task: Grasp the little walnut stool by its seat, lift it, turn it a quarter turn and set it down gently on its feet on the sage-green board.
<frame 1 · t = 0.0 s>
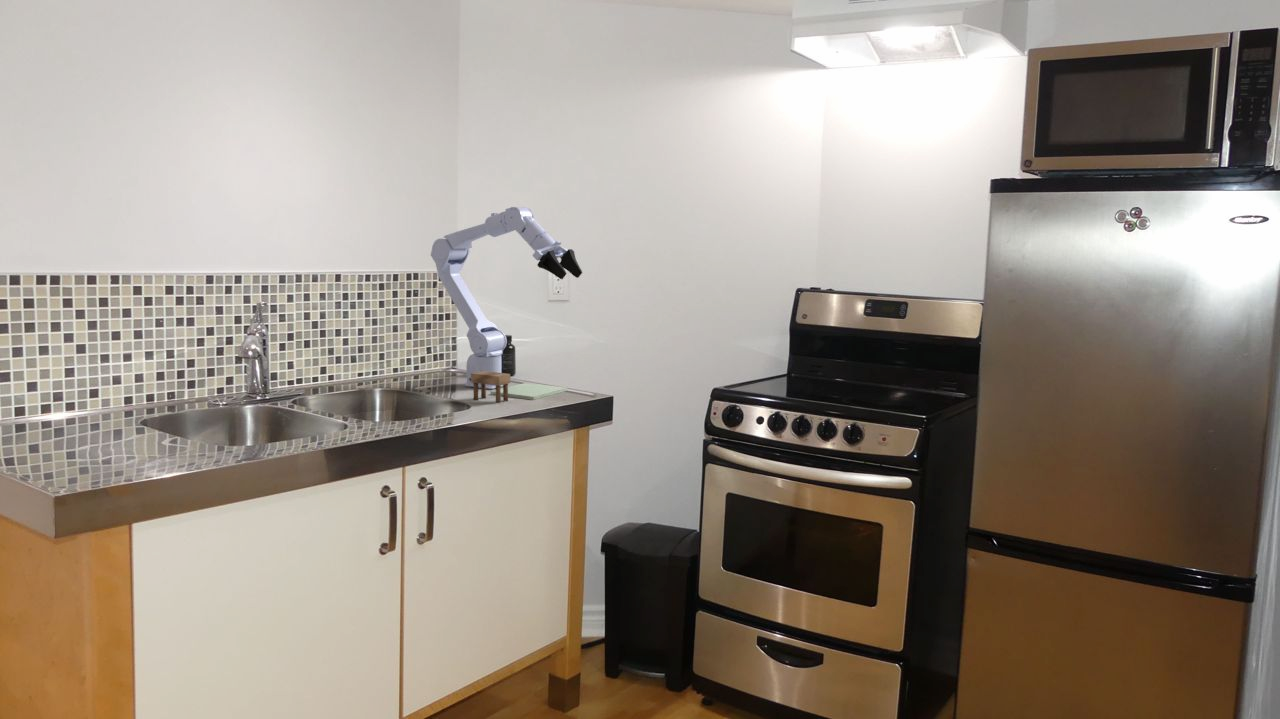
hand: (572, 275, 254), 32 cm above the worktop, tool tilted 50°, fingers open, 7 cm apart
sage board: (529, 392, 264), on the worktop
walnut stool: (490, 400, 252), on the worktop
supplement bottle: (504, 375, 291), on the worktop
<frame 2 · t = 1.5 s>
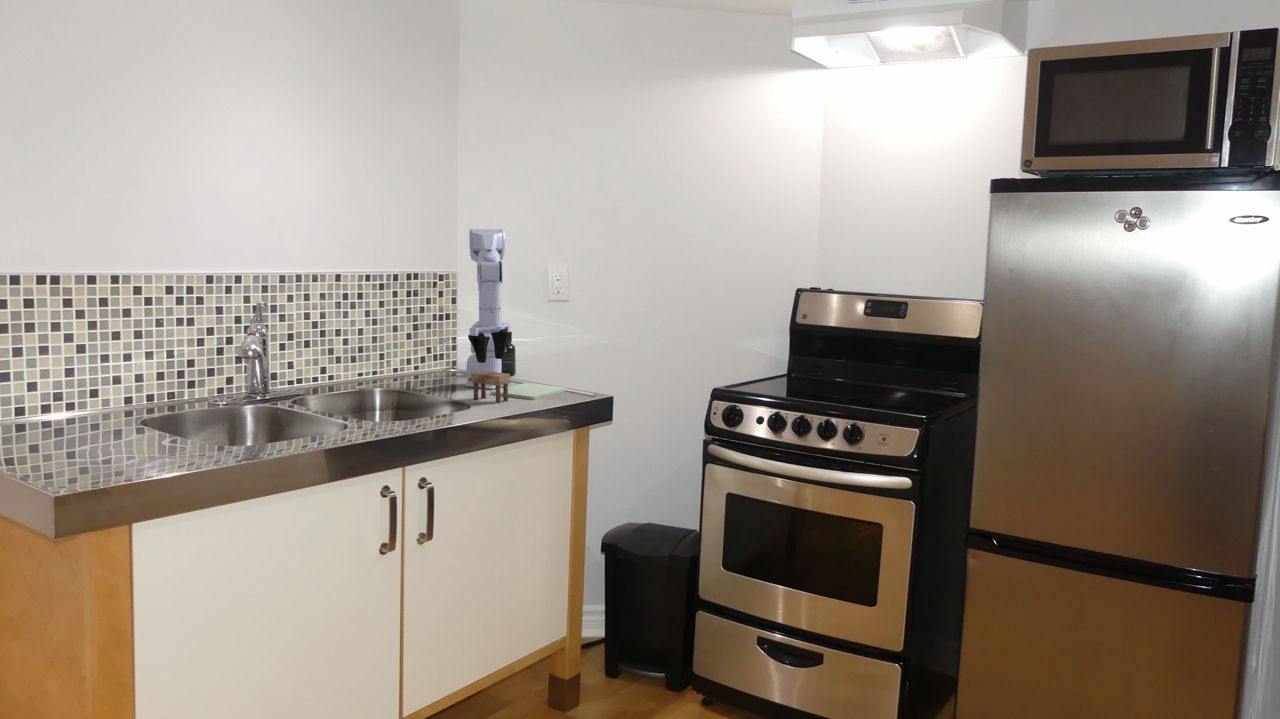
hand: (490, 360, 250), 10 cm above the worktop, tool pointing down, fingers open, 7 cm apart
nothing on the worktop moved.
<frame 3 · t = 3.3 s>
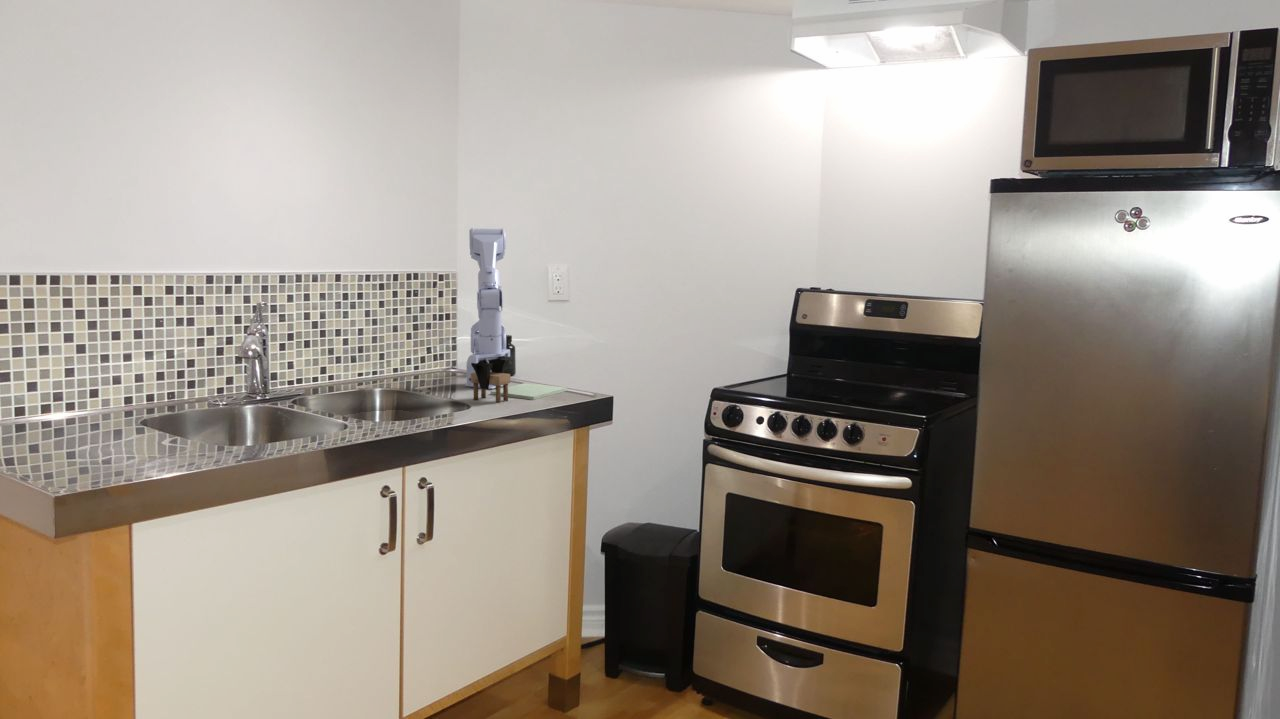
hand: (490, 387, 251), 3 cm above the worktop, tool pointing down, fingers closed on walnut stool, 5 cm apart
walnut stool: (490, 400, 252), on the worktop, touching gripper
everything else where it was.
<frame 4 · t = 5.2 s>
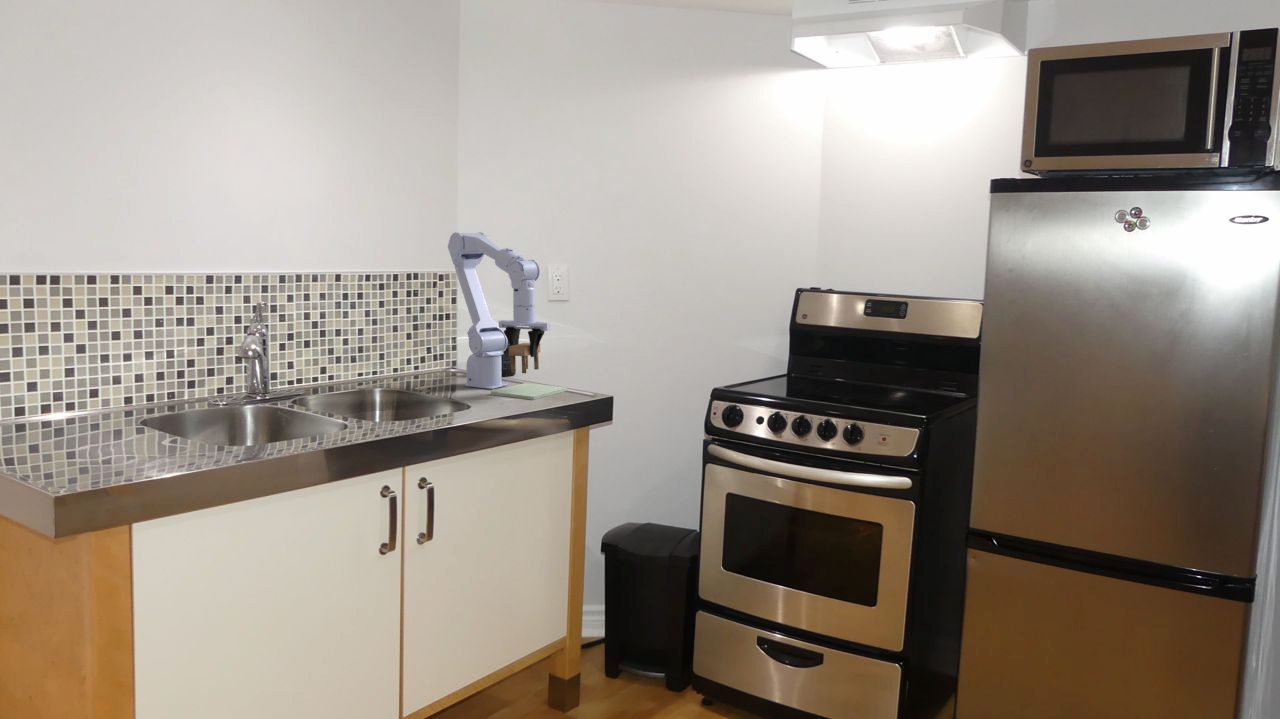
hand: (524, 355, 260), 10 cm above the worktop, tool pointing down, fingers closed on walnut stool, 5 cm apart
walnut stool: (525, 370, 261), point 6 cm above the worktop, touching gripper
everything else where it was.
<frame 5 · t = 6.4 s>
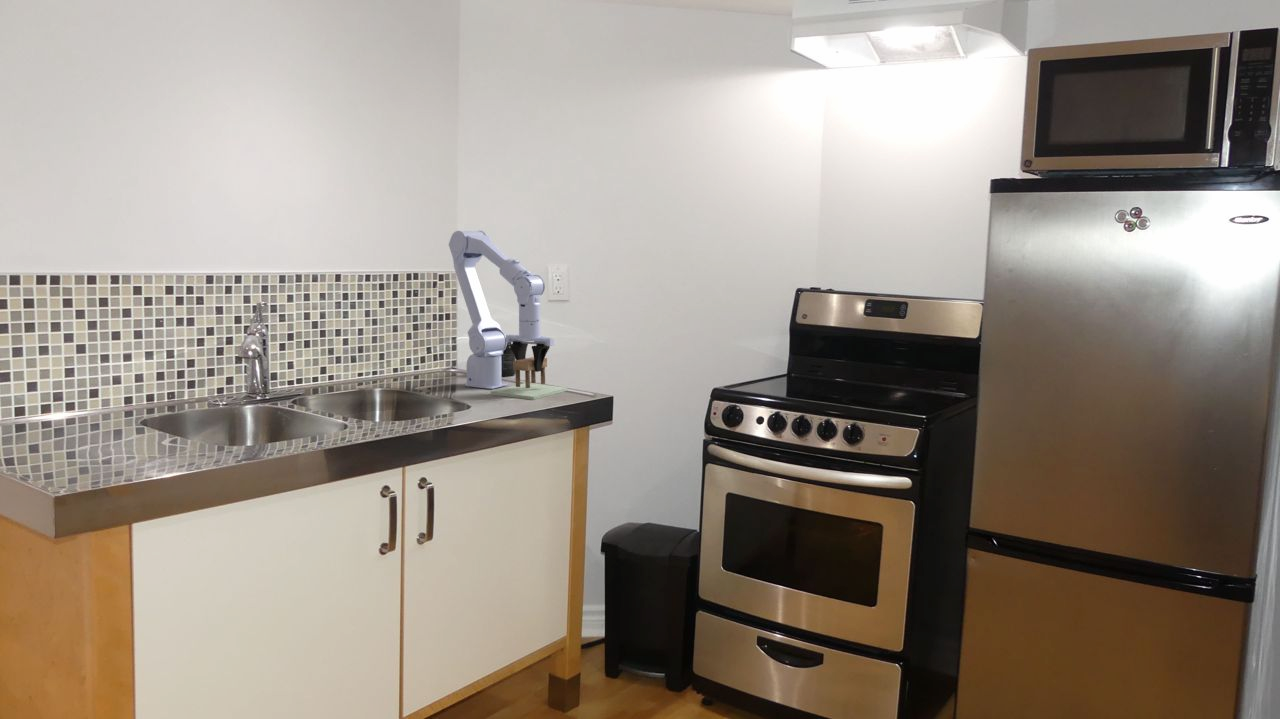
hand: (529, 370, 262), 6 cm above the worktop, tool pointing down, fingers closed on walnut stool, 5 cm apart
walnut stool: (530, 385, 263), point 2 cm above the worktop, touching gripper
everything else where it was.
when the fingers open (5 cm above the worktop, at t = 7.5 s): walnut stool stays where it is, resting on sage board.
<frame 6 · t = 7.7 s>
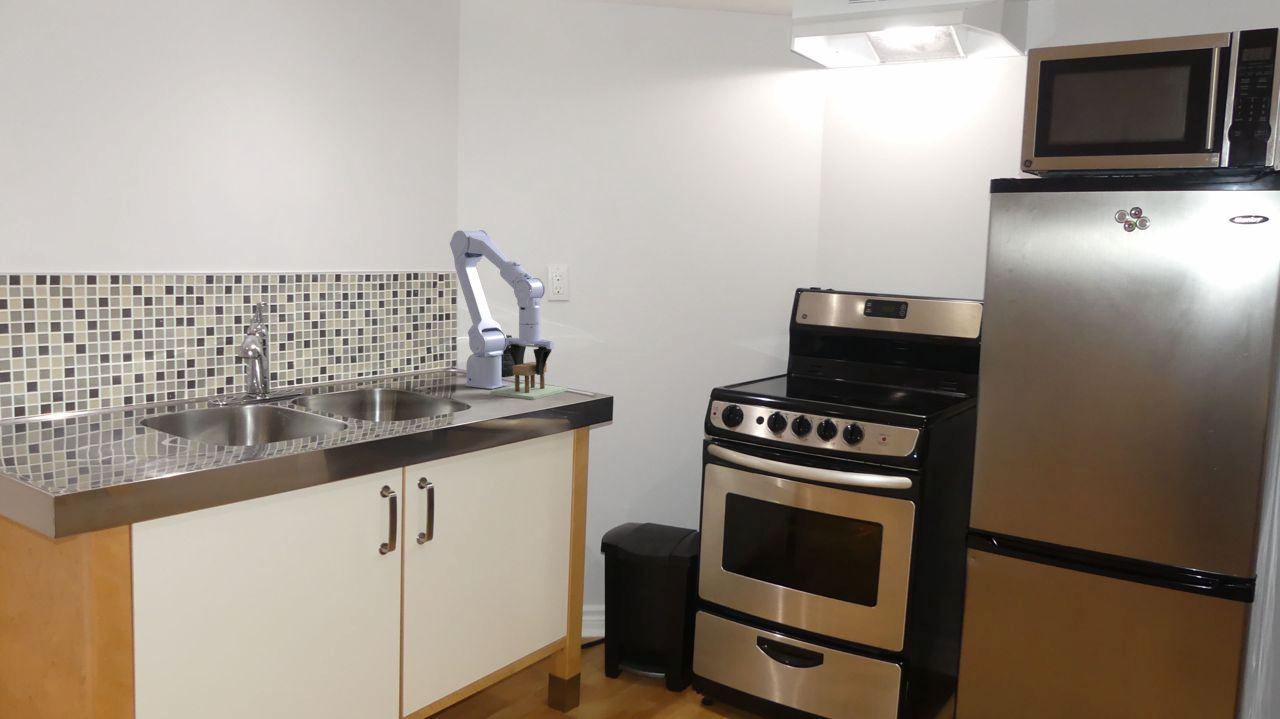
hand: (529, 373, 262), 5 cm above the worktop, tool pointing down, fingers open, 6 cm apart
walnut stool: (529, 389, 263), point 1 cm above the worktop, touching sage board
everything else where it was.
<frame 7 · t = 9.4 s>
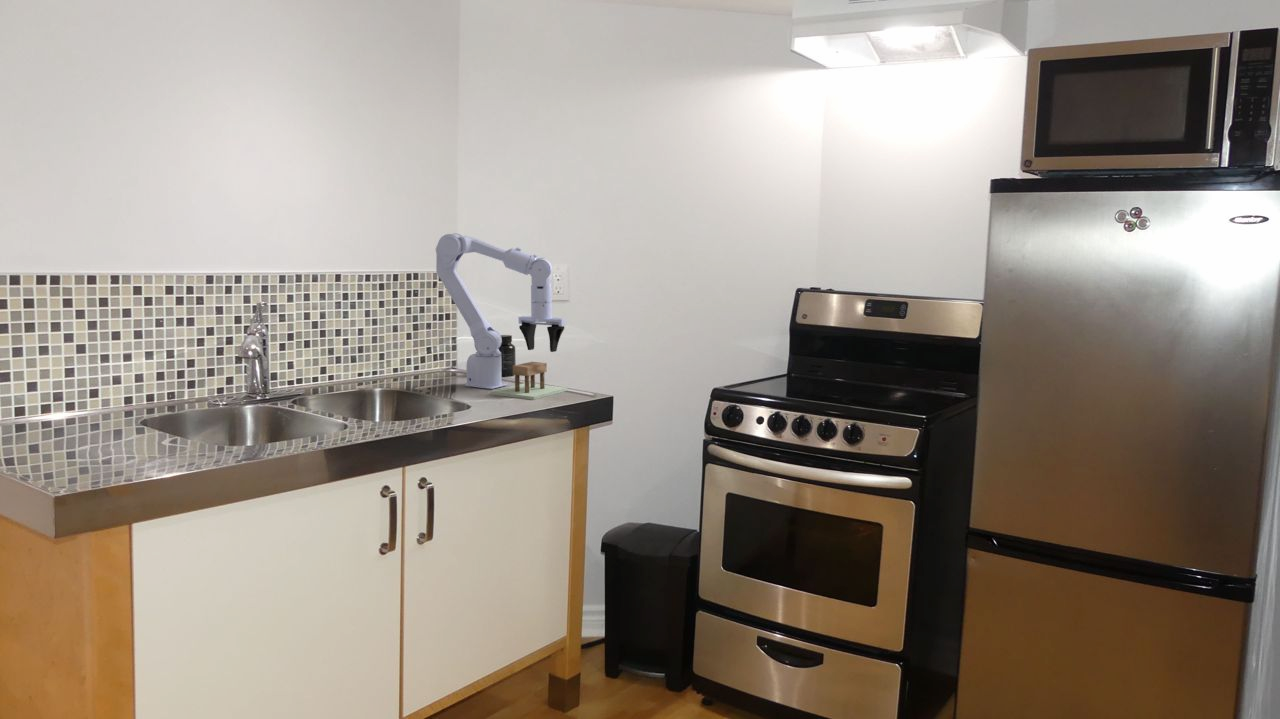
hand: (542, 350, 270), 10 cm above the worktop, tool pointing down, fingers open, 7 cm apart
nothing on the worktop moved.
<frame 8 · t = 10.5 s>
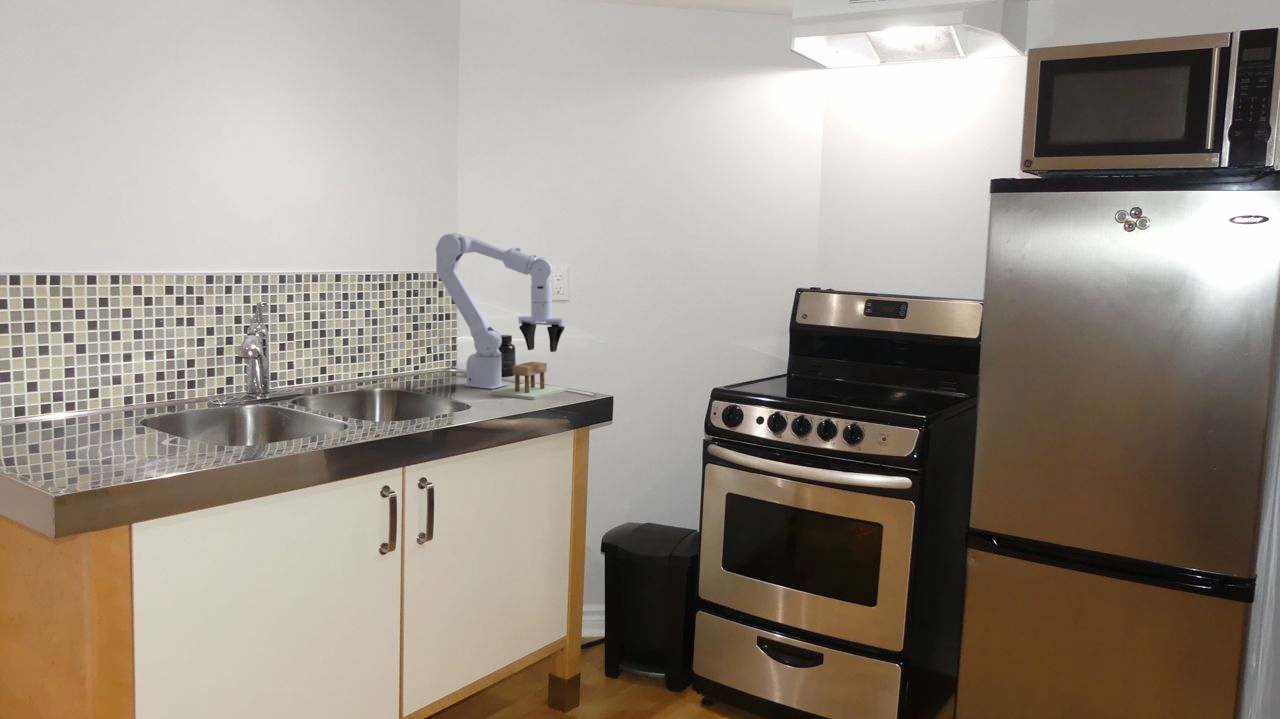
hand: (542, 350, 270), 10 cm above the worktop, tool pointing down, fingers open, 7 cm apart
nothing on the worktop moved.
at the end: walnut stool inside the target area on the sage board (0.4 cm from its centre), point 0.8 cm above the sage board's base; walnut stool tilted 0°; the gripper is holding nothing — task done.
